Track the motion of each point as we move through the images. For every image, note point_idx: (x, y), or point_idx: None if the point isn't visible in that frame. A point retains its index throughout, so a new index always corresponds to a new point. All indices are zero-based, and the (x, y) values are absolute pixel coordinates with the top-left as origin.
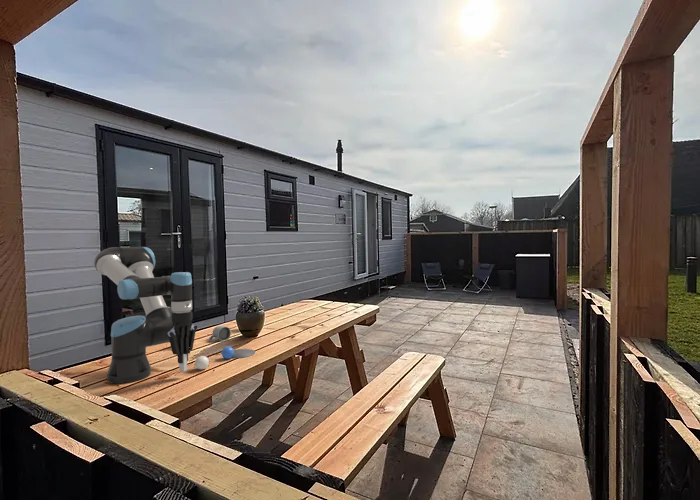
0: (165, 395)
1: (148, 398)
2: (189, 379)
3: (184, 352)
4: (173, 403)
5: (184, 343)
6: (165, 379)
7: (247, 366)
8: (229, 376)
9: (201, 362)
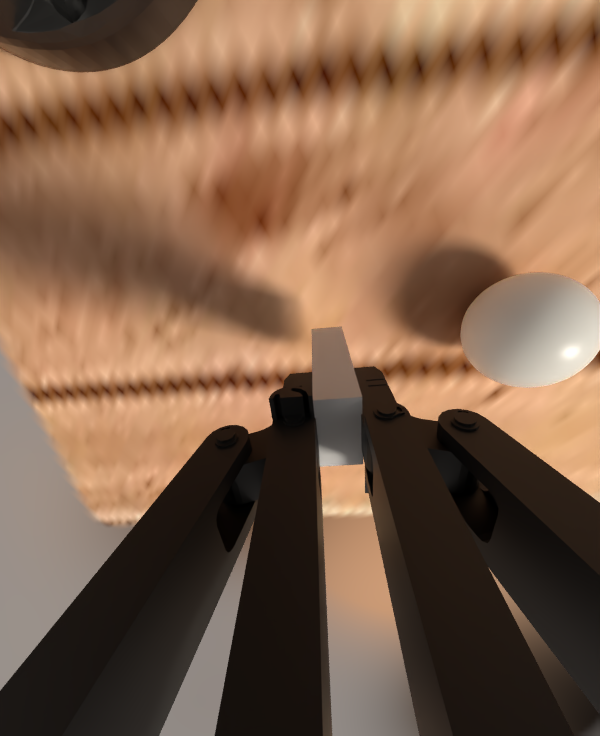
0: (144, 454)
1: (77, 424)
2: None
3: (363, 444)
4: None
5: (394, 574)
6: (237, 265)
7: (595, 490)
8: None
9: (488, 374)
